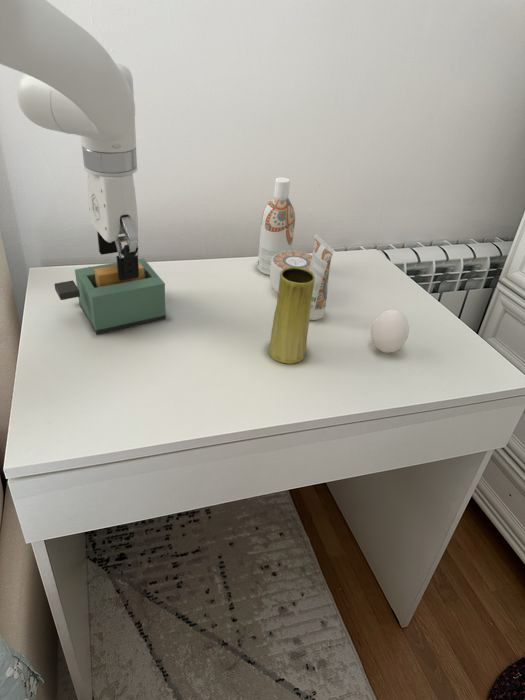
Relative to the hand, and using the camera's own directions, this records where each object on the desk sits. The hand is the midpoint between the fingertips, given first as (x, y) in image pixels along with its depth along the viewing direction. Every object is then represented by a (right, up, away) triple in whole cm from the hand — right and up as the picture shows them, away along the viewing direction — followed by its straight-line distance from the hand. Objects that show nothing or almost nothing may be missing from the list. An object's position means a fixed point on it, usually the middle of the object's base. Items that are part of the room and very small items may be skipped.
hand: (118, 265), depth 87 cm
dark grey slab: (-8, -5, -2) cm, 9 cm away
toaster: (-1, -7, +5) cm, 9 cm away
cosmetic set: (+29, -3, +17) cm, 34 cm away
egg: (+44, -14, +3) cm, 47 cm away
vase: (+28, -15, 0) cm, 31 cm away
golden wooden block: (-1, -7, +5) cm, 8 cm away
